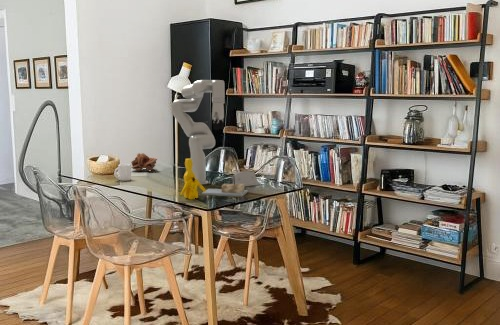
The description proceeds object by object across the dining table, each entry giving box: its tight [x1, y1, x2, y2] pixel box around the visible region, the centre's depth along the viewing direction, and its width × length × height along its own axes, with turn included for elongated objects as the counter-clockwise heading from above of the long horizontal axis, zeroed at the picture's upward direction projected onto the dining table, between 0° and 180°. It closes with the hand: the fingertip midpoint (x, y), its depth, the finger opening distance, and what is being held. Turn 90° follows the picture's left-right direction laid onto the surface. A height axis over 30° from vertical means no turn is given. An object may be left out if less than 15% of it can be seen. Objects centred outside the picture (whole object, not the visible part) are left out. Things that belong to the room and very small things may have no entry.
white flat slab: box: [201, 188, 249, 197], centre depth 303 cm, size 24×13×1 cm, turn 77°
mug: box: [113, 163, 132, 182], centre depth 350 cm, size 12×8×10 cm
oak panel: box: [221, 183, 245, 193], centre depth 302 cm, size 12×6×4 cm, turn 77°
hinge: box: [232, 170, 260, 187], centre depth 331 cm, size 17×5×10 cm, turn 124°
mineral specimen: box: [130, 152, 158, 172], centre depth 393 cm, size 22×20×15 cm
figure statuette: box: [179, 158, 207, 200], centre depth 289 cm, size 18×8×22 cm, turn 133°
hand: (218, 129), depth 315 cm, fingers open, 9 cm apart
